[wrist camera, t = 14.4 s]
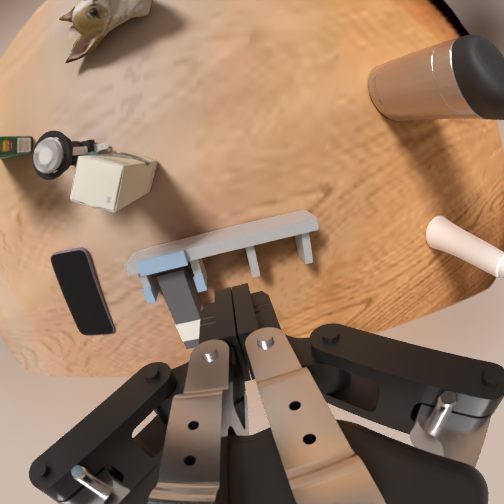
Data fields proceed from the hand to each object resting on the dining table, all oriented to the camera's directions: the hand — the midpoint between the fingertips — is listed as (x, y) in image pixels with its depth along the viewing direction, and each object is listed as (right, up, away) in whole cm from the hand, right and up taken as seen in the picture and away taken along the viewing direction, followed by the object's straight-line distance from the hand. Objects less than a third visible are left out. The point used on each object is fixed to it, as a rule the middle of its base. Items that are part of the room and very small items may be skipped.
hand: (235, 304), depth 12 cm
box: (-14, +13, +21) cm, 28 cm away
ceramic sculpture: (-19, +35, +12) cm, 41 cm away
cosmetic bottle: (+33, +6, +29) cm, 45 cm away
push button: (-21, +16, +19) cm, 32 cm away
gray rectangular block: (-9, -4, +27) cm, 29 cm away
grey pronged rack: (-3, +3, +26) cm, 26 cm away
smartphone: (-26, -4, +26) cm, 37 cm away
